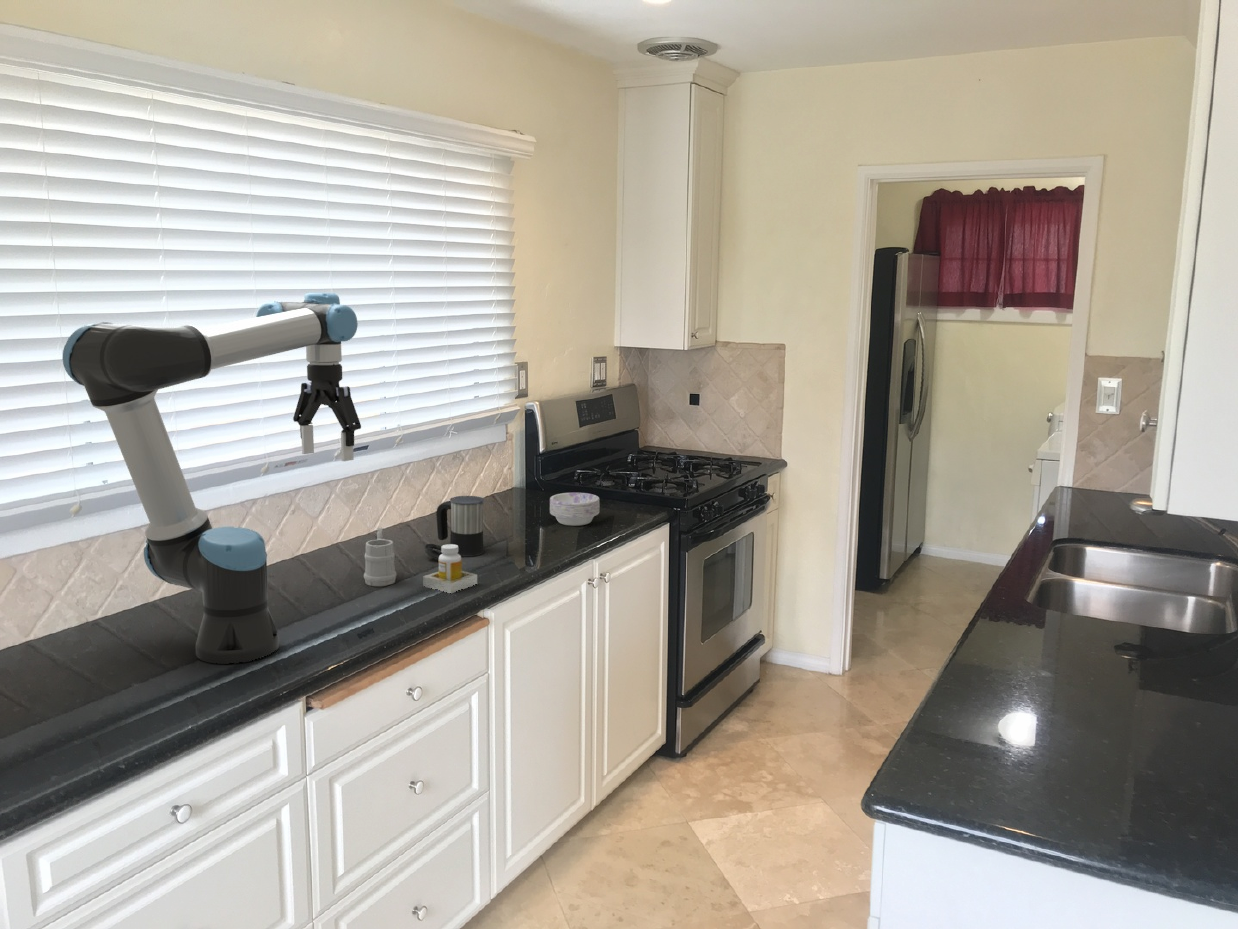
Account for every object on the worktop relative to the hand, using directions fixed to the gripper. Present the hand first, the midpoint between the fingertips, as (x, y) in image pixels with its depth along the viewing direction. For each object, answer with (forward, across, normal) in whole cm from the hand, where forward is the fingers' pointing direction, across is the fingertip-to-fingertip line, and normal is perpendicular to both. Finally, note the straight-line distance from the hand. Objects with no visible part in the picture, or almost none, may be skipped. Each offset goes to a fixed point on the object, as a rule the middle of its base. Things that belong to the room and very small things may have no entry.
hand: (327, 457), depth 218 cm
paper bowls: (+32, -4, -89) cm, 95 cm away
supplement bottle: (+32, -18, -20) cm, 42 cm away
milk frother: (+32, -1, -40) cm, 51 cm away
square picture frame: (+32, -18, -20) cm, 42 cm away
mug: (+32, -2, -13) cm, 35 cm away
